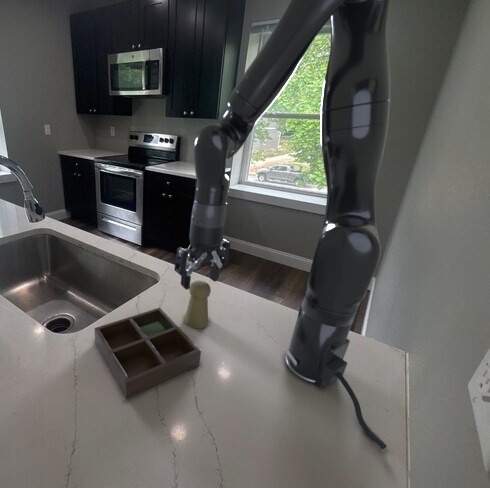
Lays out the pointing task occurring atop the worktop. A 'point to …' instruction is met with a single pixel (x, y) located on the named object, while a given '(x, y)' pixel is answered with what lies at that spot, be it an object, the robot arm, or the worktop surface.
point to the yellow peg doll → (198, 305)
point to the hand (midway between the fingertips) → (199, 283)
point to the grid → (145, 351)
